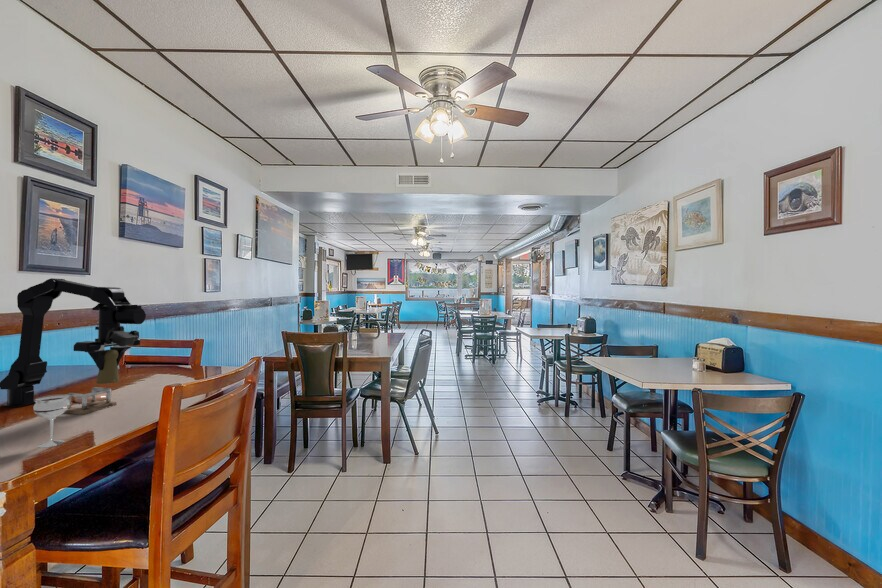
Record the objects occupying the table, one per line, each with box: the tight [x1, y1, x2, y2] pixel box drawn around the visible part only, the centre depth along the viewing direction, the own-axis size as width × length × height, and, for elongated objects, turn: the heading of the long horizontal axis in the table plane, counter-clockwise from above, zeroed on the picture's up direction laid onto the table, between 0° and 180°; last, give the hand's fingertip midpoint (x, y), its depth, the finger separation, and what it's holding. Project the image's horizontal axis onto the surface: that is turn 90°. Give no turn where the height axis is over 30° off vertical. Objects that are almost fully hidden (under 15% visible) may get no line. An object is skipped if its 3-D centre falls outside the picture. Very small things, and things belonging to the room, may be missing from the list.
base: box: [63, 400, 117, 415], centre depth 130 cm, size 9×11×1 cm
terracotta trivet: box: [74, 393, 112, 404], centre depth 142 cm, size 10×10×1 cm
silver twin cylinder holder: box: [66, 386, 112, 410], centre depth 130 cm, size 7×9×5 cm
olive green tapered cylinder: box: [96, 349, 120, 385], centre depth 134 cm, size 6×6×11 cm
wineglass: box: [32, 394, 70, 449], centre depth 101 cm, size 7×7×12 cm
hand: (108, 368), depth 134 cm, fingers closed on olive green tapered cylinder, 4 cm apart
